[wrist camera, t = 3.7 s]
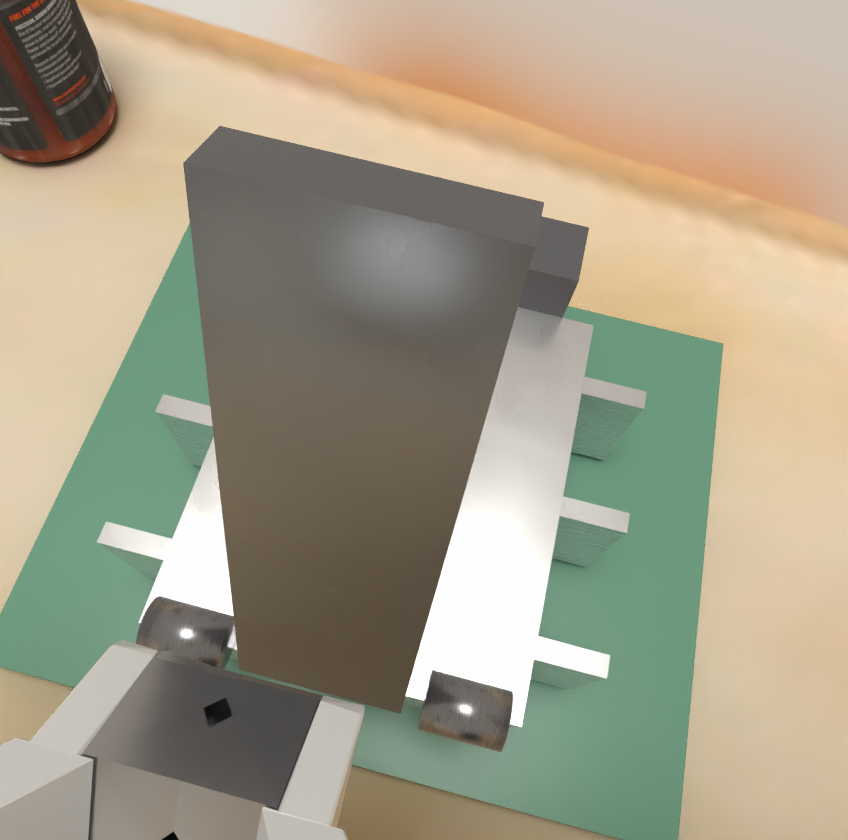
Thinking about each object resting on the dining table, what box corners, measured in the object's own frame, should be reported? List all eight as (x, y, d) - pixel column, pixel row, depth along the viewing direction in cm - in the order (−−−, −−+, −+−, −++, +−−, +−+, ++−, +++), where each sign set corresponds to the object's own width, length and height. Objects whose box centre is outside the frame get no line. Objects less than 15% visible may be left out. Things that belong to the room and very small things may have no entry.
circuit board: (712, 355, 30) (723, 343, 29) (664, 850, 22) (676, 855, 21) (199, 231, 31) (193, 215, 30) (-7, 664, 23) (-23, 660, 22)
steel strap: (543, 202, 9) (535, 247, 8) (409, 674, 18) (400, 713, 17) (219, 126, 9) (183, 163, 8) (254, 632, 18) (239, 669, 17)
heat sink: (610, 407, 27) (671, 318, 22) (551, 771, 22) (612, 782, 16) (253, 318, 28) (221, 209, 22) (117, 651, 23) (29, 622, 17)
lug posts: (541, 343, 28) (589, 227, 22) (532, 388, 27) (578, 281, 21) (343, 295, 29) (333, 167, 22) (328, 337, 28) (313, 217, 21)
